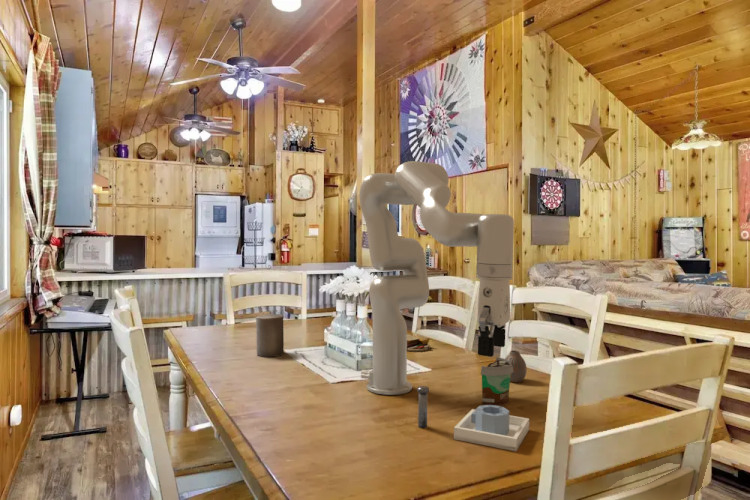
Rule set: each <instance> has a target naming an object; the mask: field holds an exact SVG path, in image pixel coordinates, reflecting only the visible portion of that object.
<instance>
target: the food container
mask: <svg viewBox="0 0 750 500" xmlns="http://www.w3.org/2000/svg"><path fill="white" fill-rule="evenodd" d="M495 359H496V360H495V361H494V362H490V363H488V365H487V366H486V365H485V366H484V365H482V366H481V369H480V376H481V392H482V396H481V399H482V403H481V404H482V405H483V406H484V405H495V406H502V405H506V404H508V402H509V398H510V397H509V396H510V384H511V382H510V375H511V373H513V366H512V364H511V362H510V361H509V360H507V359H505V358H503V357H497V356H496V357H495Z"/></svg>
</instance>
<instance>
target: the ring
mask: <svg viewBox="0 0 750 500" xmlns="http://www.w3.org/2000/svg"><path fill="white" fill-rule="evenodd" d="M475 410H476V412H473V413H472V414H471V423H475V430H478V431H484V432H489V433H494V434H500V435H505V436H506V435H507V434H508V432H509V415H510V409H509V410H508V409H507V408H506V407H504V406H502V405H484V404H483V405H478V407H476V408H475Z"/></svg>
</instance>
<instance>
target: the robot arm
mask: <svg viewBox="0 0 750 500" xmlns="http://www.w3.org/2000/svg"><path fill="white" fill-rule="evenodd" d="M451 194H452V192H451V189H450V186H449V174H448V172H447V170H446V168H445V167H443V166H442V165H441V164H438V163H435V162H425V161H418V160H417V161H416V160H414V161H413V160H410V161H405V162H403V163H401V164H400V165H398V167H397V169H396V170H395V172H394V173H388V172H379V173H372V174H369V175H367V176H366V177H365V178H364V179H363V180H362V182H361V184H360V188H359V194H358V197H359V198H358V199H359V200H358V201H359V206H360V210H361V212H362V217H363V218H364V222H365V225H366V233H367V241H368V242H367V243H368V250H369V257H370V261H371V265H372V267H373V268H374V269H375V270H377V271H380V272H398V271H399V272H400V271H402V274H394V275H393V274H391V275H390V274H389V275H382V276H379V277H377V278H375V279H373V281H372V282H371V283H370V286H369V290H368V291H369V292H368V294H369V301H370V305H371V306H370V307H371V313H372V314H371V315H372V370H368V369H362V370H361V373H360V378H361V379H367V380H368V382H367V384H366V388H367V390H368V391H369V392H371V393H373V394H378V395H386V396H394V395H395V396H396V395H402V394H407V393H409V392H411V391H412V390H413V384H412V383H411V382H410V381H408V380H407V378H408V377H407V375H408V373H407V371H408V370H407V366H408V364H407V363H408V359H407V358H408V353H407V352H408V351H407V334H408V327H407V322H406V320H405V319H406V318H405V317H404V316H403V314H402V312H401V311H400V310H404V309H414V308H420V307H423V306H424V305H426V303H427V302H428V300H429V297H430V287H429V286H430V283H429V277H428V270H427V263H426V256H425V252H424V249H423V246H422V244H421V243H420V242H419V241H418V240H417V239H416V238H412V237H400V236H399V234H398V229H397V222H396V219H395V217H394V216H393V214H392V212H391V211H390V210H389V209H388V207H387V205H402V206H412V205H413V206H414V205H416V206H417V207H418V208H420V209H419V210H420V211H419V215H420V221H421V225H422V226H423V229H424V230H425V231H426V232H427V233H428V234H429V235H430V236H431V237H432V238H433V239H434V240H435V241H437V242H438V243H440V244H441V245H443V246H446V247H450V248H451V247H452V248H453V247H454V248H457V247H459V248H460V247H466V248H467V247H473V248H475V247H476V274H475V275H476V277H475V278H476V279H478V280H479V286H478V301H477V323H478V325H479V326H478V333H477V339H478V340H477V355H478V356H483V357H489V358H492V357H494V355H495V353H494V352H495V347H498V348H499V347H501V348H505V346H506V324H507V323H508V322H510V321H511V289H510V288H511V287H510V281H512V280H513V261H514V258H513V257H514V231H515V227H514V225H515V221H514V218H513V216H512V215H510V214H505V213H503V214H501V213H500V214H499V213H486V214H484V213H471V212H451V211H449V210H448V209H447V208H446V207H447V206H448V204H449V203H450V200H451V196H452V195H451Z"/></svg>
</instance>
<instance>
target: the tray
mask: <svg viewBox="0 0 750 500" xmlns="http://www.w3.org/2000/svg"><path fill="white" fill-rule="evenodd" d="M473 412H476V408H475V409H474V408H471V410H470V411H469V412H468V413H467V414H466V415H465V416H464V417H463V418H461V420H460V421H459V422H458V423H457V424H456V425H455V426H454V427H453V440H456V441H462V442H465V443H466V442H467V443H471V444H477V445H480V446H481V445H482V446H487V447H491V448H497V449H502V450H506V451H512V452H517V451H518V450H519V448H520V446H521V444H522V443H523V441H524V439H525V437H526V435H527V434H528V432H529V430H530V418H528V417H522V416H515V415H510V414H509V432H508V434H507V435H506V436H505V435H500V434H494V433H489V432H484V431H478V430H475V423H471V414H472V413H473Z"/></svg>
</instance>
